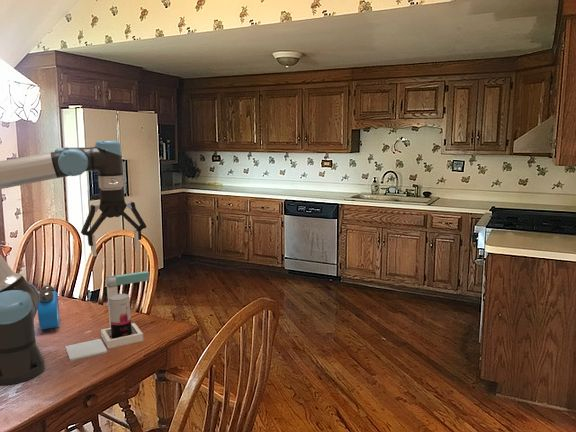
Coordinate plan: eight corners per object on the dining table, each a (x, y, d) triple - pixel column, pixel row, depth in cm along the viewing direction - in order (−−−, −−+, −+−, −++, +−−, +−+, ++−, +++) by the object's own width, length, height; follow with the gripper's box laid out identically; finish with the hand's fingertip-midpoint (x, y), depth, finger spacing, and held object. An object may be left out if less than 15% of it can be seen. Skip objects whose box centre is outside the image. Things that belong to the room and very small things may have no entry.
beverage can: (130, 342, 163) (127, 299, 161) (110, 343, 162) (106, 300, 160) (133, 334, 170) (130, 292, 167) (114, 335, 169) (111, 294, 166)
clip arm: (150, 280, 177) (149, 272, 177) (107, 287, 170) (106, 279, 170) (147, 278, 180) (147, 270, 180) (105, 284, 173) (105, 276, 173)
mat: (70, 361, 150) (69, 359, 150) (65, 347, 159) (65, 346, 159) (107, 352, 155) (107, 350, 155) (100, 340, 165) (100, 338, 165)
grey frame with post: (108, 348, 158) (104, 302, 156) (97, 329, 174) (94, 287, 171) (143, 340, 164) (140, 296, 161) (130, 323, 179) (127, 282, 177)
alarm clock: (58, 332, 171) (54, 292, 169) (39, 335, 169) (35, 294, 166) (60, 320, 183) (56, 281, 181) (41, 322, 181) (37, 283, 178)
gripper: (71, 192, 148) (77, 260, 151) (153, 187, 160) (156, 249, 164) (68, 190, 154) (74, 255, 158) (146, 185, 167) (150, 245, 170)
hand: (116, 252), depth 161 cm, fingers open, 13 cm apart
